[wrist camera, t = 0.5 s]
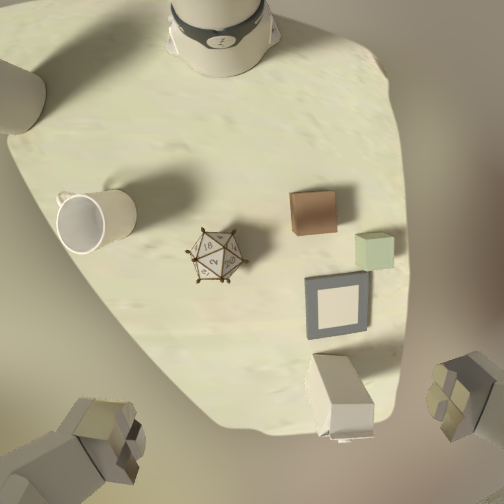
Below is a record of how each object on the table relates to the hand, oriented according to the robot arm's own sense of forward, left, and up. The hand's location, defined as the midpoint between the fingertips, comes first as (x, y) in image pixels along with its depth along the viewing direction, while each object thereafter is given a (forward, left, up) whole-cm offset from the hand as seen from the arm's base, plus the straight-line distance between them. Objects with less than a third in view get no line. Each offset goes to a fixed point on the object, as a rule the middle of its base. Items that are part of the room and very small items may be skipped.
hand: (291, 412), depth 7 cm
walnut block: (-1, +9, -43) cm, 44 cm away
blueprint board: (+16, +13, -42) cm, 47 cm away
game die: (+4, -6, -43) cm, 43 cm away
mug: (-5, -24, -43) cm, 49 cm away
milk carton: (+29, +11, -43) cm, 53 cm away
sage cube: (+6, +19, -43) cm, 47 cm away
